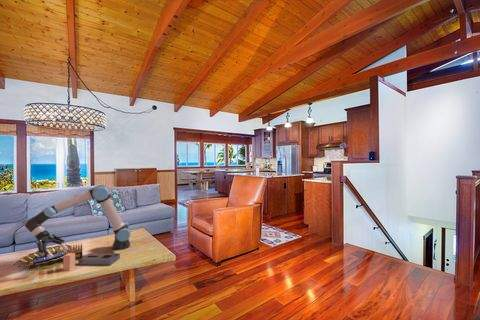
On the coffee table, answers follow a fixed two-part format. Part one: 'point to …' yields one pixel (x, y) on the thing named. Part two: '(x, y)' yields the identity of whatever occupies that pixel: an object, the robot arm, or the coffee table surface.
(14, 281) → the coffee table surface
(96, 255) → the bore plate
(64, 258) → the square peg
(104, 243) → the coffee table surface
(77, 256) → the ammunition clip
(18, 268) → the coffee table surface
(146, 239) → the coffee table surface
